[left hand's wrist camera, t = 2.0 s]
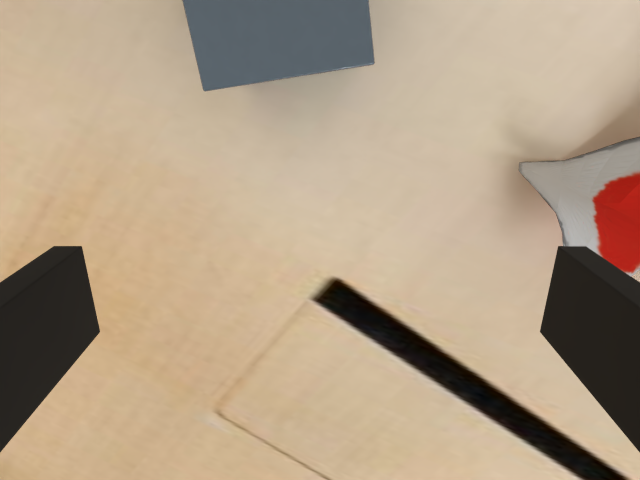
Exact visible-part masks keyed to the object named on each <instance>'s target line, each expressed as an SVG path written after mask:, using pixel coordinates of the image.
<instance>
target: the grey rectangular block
mask: <svg viewBox="0 0 640 480" xmlns="http://www.w3.org/2000/svg"><path fill="white" fill-rule="evenodd" d="M183 4H184V9H185V13H186V17H187V22H188V26H189V31H190V35H191V39H192V44H193V48H194V52H195V57H196V61H197V65H198V70H199V74H200V78H201V83H202V87H203V90H204V91H211V90H217V89H224V88H230V87H236V86H242V85H249V84H255V83H261V82H268V81H274V80H280V79H286V78H293V77H299V76H305V75H312V74H318V73H324V72H331V71H337V70H343V69H349V68H356V67H362V66H368V65H373V64H374V63H375V61H374V51H373V40H372V30H371V20H370V9H369V0H183Z"/></svg>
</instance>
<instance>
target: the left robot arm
mask: <svg viewBox="0 0 640 480" xmlns="http://www.w3.org/2000/svg"><path fill="white" fill-rule="evenodd" d="M99 332H100V330H99V325H98V320H97V316H96V311H95V306H94V302H93V297H92V292H91V288H90V283H89V278H88V273H87V269H86V264H85V259H84V255H83V250H82V246H54V247H52V248H51V249H49V250H48V251H46V252H45V253H43V254H42V255H40V256H39V257H37V258H36V259H34V260H33V261H31V262H30V263H28V264H27V265H25V266H24V267H23V268H21V269H20V270H18V271H17V272H15V273H14V274H12V275H11V276H9V277H8V278H6V279H5V280H3V281H2V282H0V452H1V451H2V449H3V448H4V447H5V446H6V445H7V443H8V442H9V441H10V440H11V439H12V437H13V436H14V435H15V434H16V433H17V431H18V430H19V429H20V428H21V427H22V425H23V424H24V423H25V422H26V421H27V419H28V418H29V417H30V416H31V414H32V413H33V412H34V411H35V410H36V408H37V407H38V406H39V405H40V404H41V402H42V401H43V400H44V399H45V398H46V396H47V395H48V394H49V393H50V392H51V390H52V389H53V388H54V387H55V385H56V384H57V383H58V382H59V381H60V379H61V378H62V377H63V376H64V375H65V373H66V372H67V371H68V370H69V369H70V367H71V366H72V365H73V364H74V363H75V361H76V360H77V359H78V358H79V357H80V355H81V354H82V353H83V352H84V350H85V349H86V348H87V347H88V346H89V344H90V343H91V342H92V341H93V340H94V338H95V337H96V336H97V335H98V334H99ZM540 332H541V334H542V335H543V336H544V337H545V338H546V340H547V341H548V342H549V343H550V344H551V346H552V347H553V348H554V349H555V350H556V352H557V353H558V354H559V355H560V357H561V358H562V359H563V360H564V361H565V363H566V364H567V365H568V366H569V367H570V369H571V370H572V371H573V372H574V373H575V375H576V376H577V377H578V378H579V379H580V381H581V382H582V383H583V384H584V385H585V387H586V388H587V389H588V390H589V392H590V393H591V394H592V395H593V396H594V398H595V399H596V400H597V401H598V402H599V404H600V405H601V406H602V407H603V408H604V410H605V411H606V412H607V413H608V414H609V416H610V417H611V418H612V419H613V421H614V422H615V423H616V424H617V425H618V427H619V428H620V429H621V430H622V431H623V433H624V434H625V435H626V436H627V437H628V439H629V440H630V441H631V442H632V443H633V445H634V446H635V447H636V448H637V449H638V451H639V452H640V282H638V281H637V280H635V279H634V278H632V277H631V276H629V275H628V274H626V273H625V272H623V271H622V270H620V269H619V268H617V267H616V266H615V265H613V264H612V263H610V262H609V261H607V260H606V259H604V258H603V257H601V256H600V255H598V254H597V253H595V252H594V251H592V250H591V249H589V248H588V247H586V246H558V250H557V255H556V259H555V264H554V269H553V273H552V278H551V283H550V287H549V292H548V297H547V302H546V306H545V311H544V316H543V320H542V325H541V330H540Z"/></svg>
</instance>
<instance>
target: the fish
mask: <svg viewBox="0 0 640 480" xmlns="http://www.w3.org/2000/svg"><path fill="white" fill-rule="evenodd" d="M519 171H520V173H521V174H522V175H523V176H524V178H525V179H526V180H527V181H528V182H529V183H530V184H531V185H532V186H533V187H534V188H535V189H536V190H537V191H538V193H539V194H540V195H541V196H542V197H543V199H544V200H545V201H546V202H547V203H548V204H549V206H550V207H551V208H552V209H553V210H554V211H555V213H556V215H557V218H558V221H559V224H560V227H561V230H562V236H563V246H586V247H588V248H589V249H591V250H592V251H594V252H595V253H597V254H598V255H600V256H601V257H603V258H604V259H606V260H607V261H609V262H610V263H612V264H613V265H615V266H616V267H617V268H619V269H620V270H622V271H623V272H625V273H626V274H628V275H629V276H633V275H634V274H635V273H636V272H638V271H639V270H640V137H637V138H633V139H629V140H625V141H622V142H619V143H616V144H613V145H610V146H607V147H604V148H601V149H598V150H596V151H593V152H590V153H586V154H583V155H580V156H577V157H574V158H571V159H567V160H564V161H540V162H521V163H519Z"/></svg>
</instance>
